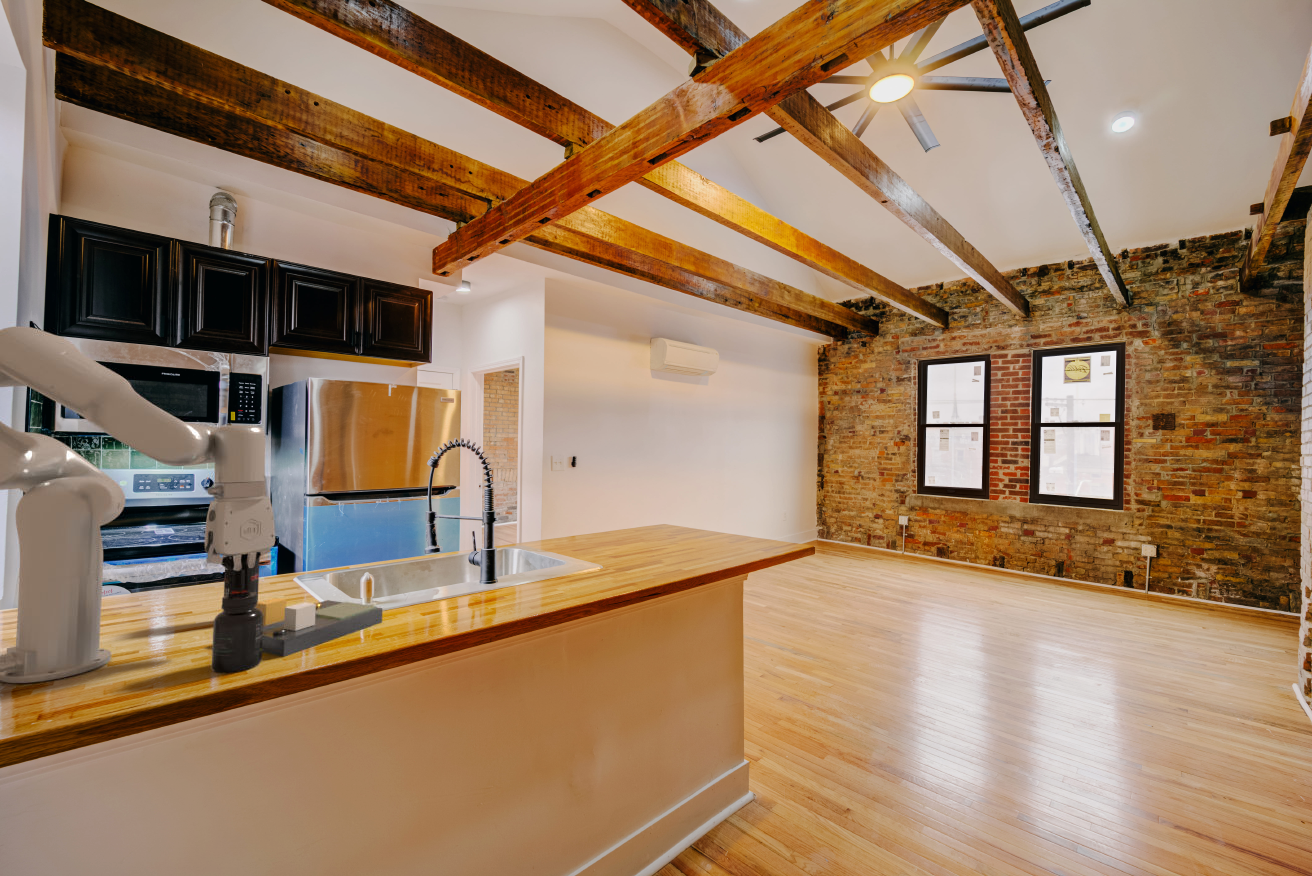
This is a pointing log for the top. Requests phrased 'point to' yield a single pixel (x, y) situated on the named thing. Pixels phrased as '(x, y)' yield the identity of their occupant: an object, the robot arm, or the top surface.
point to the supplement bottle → (237, 634)
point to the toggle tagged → (272, 610)
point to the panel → (320, 627)
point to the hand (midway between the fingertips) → (239, 590)
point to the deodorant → (253, 583)
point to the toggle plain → (299, 616)
